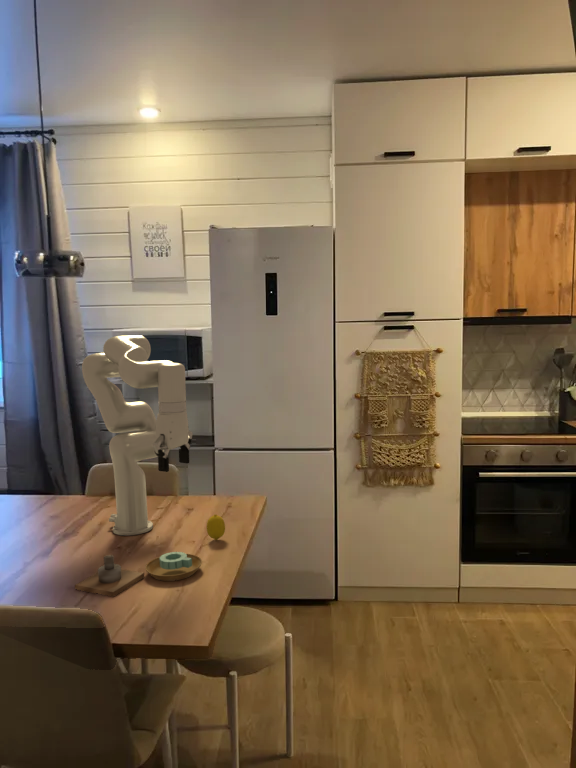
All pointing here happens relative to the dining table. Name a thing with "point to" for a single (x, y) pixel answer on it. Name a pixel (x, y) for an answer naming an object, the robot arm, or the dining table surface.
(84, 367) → the robot arm
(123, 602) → the dining table surface
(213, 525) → the lemon
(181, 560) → the ring
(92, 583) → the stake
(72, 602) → the dining table surface
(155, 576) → the plant saucer
